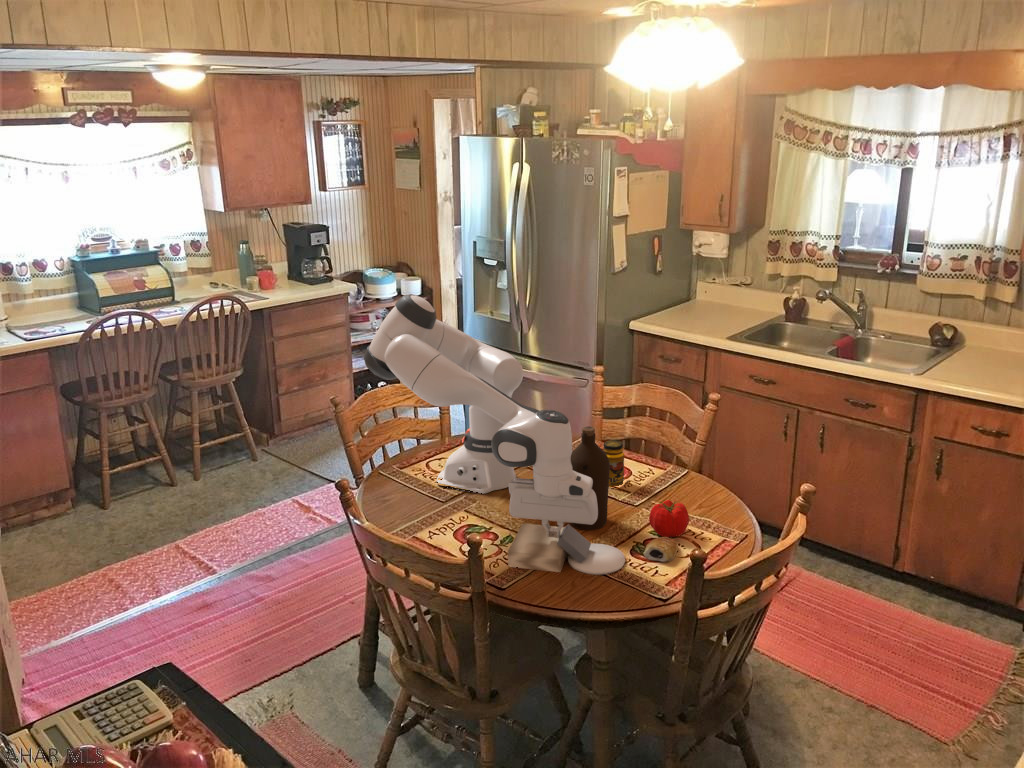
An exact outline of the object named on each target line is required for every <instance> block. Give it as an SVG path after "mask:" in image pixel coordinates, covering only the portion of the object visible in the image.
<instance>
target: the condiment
mask: <svg viewBox="0 0 1024 768" xmlns="http://www.w3.org/2000/svg"><path fill="white" fill-rule="evenodd" d="M623 445H624V444H623V442H621V441H619V440H607V441H605V442H604V443H603V449H602V450H603V451H604V452H605V453H606V455H607V457H608V459H609V463H610V474H609V486H619V485H622V484H623V481H624V479H625V453H624V446H623Z"/></svg>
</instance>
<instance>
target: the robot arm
mask: <svg viewBox="0 0 1024 768" xmlns="http://www.w3.org/2000/svg"><path fill="white" fill-rule="evenodd" d="M437 318H438V317H437V312H436V308H434V307H433V306H432V304H431V303H430V302H429V301H427V300H426V299H425V298H423V297H421V296H419V295H416V294H411V293H410V294H405V295H403V296H401V297H400V298H399V299H398V300H397V301H396V302H395V306H394V307H393V308H392V309H391V310H390V311H389V313H388V314H387V315H386V316H385V318H384V319H383V320H382V322H381V323H380V325H379V328H378V329H377V331H376V333H375V334H374V336H373V338H372V340H371V343H370V344H369V345H367V347H366V349H365V352H364V355H363V362H364V364H365V367H366V368H367V369H368V370H369V371H370V372H371V373H372V374H374V375H375V376H377V377H379V378H381V379H383V380H388V381H392V380H396V379H398V380H399V381H400V382H401V383H402V384H403V385H404V386H405V387H406V388H408V389H409V390H410V391H411V392H413V393H414V395H416V396H417V397H418V398H420V399H421V400H423V401H425V402H426V403H428V404H430V405H432V406H435V407H440V408H441V407H443V408H444V407H449V406H457V405H458V406H459V405H460V406H461V405H462V406H464V405H468V406H469V408H468V416H469V419H468V421H469V428H468V429H467V430H465V434H464V435H463V438H462V439H461V443H462V444H463V445H462V446H461V447H459V448H458V449H456V450H455V451H453V453H451V454H450V455H449V456H448V458H447V459H446V461H445V464H444V469H442V470H441V471H440V472H439V474H438V475H437V478H436V483H437V482H438V483H440V484H445V485H449V486H454V487H458V488H462V489H467V490H470V491H473V492H472V493H476V492H478V493H477V494H481V493H482V494H488V493H490V492H492V491H497V490H502V489H507V488H508V493H509V495H510V499H509V510H508V511H509V515H510V516H511V517H512V518H519V519H526V520H527V519H529V520H531V519H532V520H538V521H539V520H541V525H543V527H544V528H545V530H546V531H547V537H553V538H559V537H560V530H561V528H562V527H564V525H565V523H568V524H569V523H570V524H571V523H580V524H590V525H592V524H594V523H595V522H596V520H597V517H598V505H597V498H596V494H595V492H594V490H593V489H592V485H593V480H592V478H591V477H588V476H586V475H583V474H580V473H578V472H576V471H573V470H572V464H571V455H572V451H573V435H572V428H571V427H572V426H571V422H570V421H569V420H570V419H569V418H568V417H567V416H566V415H565V414H563V413H562V412H560V411H558V410H554V409H541V410H540V409H537V408H534V407H531V406H527V405H524V404H522V403H520V402H518V401H516V400H515V399H513V398H512V396H513V395H514V394H513V393H514V391H516V390H517V389H518V387H519V386H520V385H521V383H522V381H523V377H524V369H523V366H522V364H521V363H520V361H519V360H518V359H517V358H515V357H514V356H513V355H512V354H511V353H509V352H507V351H504V350H501V349H499V348H496V347H495V346H491V345H489V344H486V343H485V342H482V341H481V340H478V339H476V338H474V337H472V336H470V335H468V334H467V333H466V332H463V331H462V330H460V329H458V328H456V327H455V326H452V325H450V324H447V323H446V322H444V321H441V320H439V319H437ZM527 467H532V468H533V469H532V474H533V476H532V478H533V479H532V478H521V477H517V475H516V472H515V469H514V468H527ZM438 478H441V479H442V478H443V479H442V480H438ZM470 491H469V492H470ZM549 522H556V525H557V527H558V528H552V527H551V526H552V525H550V523H549Z"/></svg>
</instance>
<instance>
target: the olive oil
mask: <svg viewBox="0 0 1024 768" xmlns="http://www.w3.org/2000/svg"><path fill="white" fill-rule="evenodd" d="M595 431H596V430H595V427H593V426H583V427H582V428H581V434H580V435H581V436H580V437H581V438H580V439H581V440H580V441H581V442H580V443H579V444H578V446H576V448H574V449H572V455H571V464H572V470H573V471H576V472H578V473H580V474H583V475H586V476H588V477H591V478H592V480H593V485H592V489H593V490H594V492H595V494H596V498H597V505H598V517H597V520H596V522H595V523H594V524H592V525H590V524H580V523H570V526H571V527H573V528H576V529H579V530H584V531H585V530H586V531H592V530H598V529H601V528H603V527H605V526H606V525H607V523H608V507H609V506H608V505H609V503H608V502H609V489H610V488H609V474H610V463H609V459H608V457H607V455H606V453H605V452H604V451H603V449H602V448H601V447H600V446H599V445H598V444H597V443H596V433H595Z"/></svg>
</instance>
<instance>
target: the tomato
mask: <svg viewBox="0 0 1024 768" xmlns="http://www.w3.org/2000/svg"><path fill="white" fill-rule="evenodd" d="M677 502H678V501H675V502H673V501H671V500H670V499H666V500H664V501H663V502H660V503H657V504H654V505H653V506H652V508H651V510H650V513H649V517H648V522H649V525H650V527H651V528H652V529H653V531H654V532H655V533H656V534H657V535H659V536H660V537H668V538H677V537H680V536H681V535H683V534H684V533H685V532H686V530H687V528H688V526H689V522H690V514H689V513H688V512H689V511H688V510H687V507H686V506H685V505H684V504H683V503H682V502H678V503H677Z"/></svg>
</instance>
